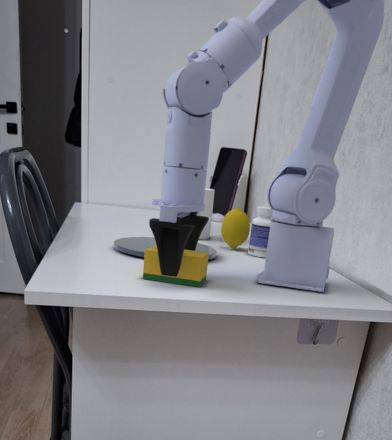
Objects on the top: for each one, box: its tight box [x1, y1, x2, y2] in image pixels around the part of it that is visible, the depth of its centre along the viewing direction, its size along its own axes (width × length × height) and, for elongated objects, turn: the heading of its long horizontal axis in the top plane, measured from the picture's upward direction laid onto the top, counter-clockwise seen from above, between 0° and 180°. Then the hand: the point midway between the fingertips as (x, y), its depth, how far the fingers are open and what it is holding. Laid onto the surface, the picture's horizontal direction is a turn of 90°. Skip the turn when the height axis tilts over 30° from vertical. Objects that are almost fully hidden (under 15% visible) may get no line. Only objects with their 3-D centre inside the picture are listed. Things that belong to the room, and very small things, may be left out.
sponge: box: [142, 245, 209, 288], centre depth 75 cm, size 8×4×4 cm, turn 77°
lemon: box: [220, 207, 251, 250], centre depth 106 cm, size 6×6×8 cm
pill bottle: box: [247, 205, 272, 259], centre depth 102 cm, size 5×5×9 cm
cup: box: [197, 187, 215, 241], centre depth 115 cm, size 8×12×10 cm
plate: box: [113, 236, 218, 261], centre depth 95 cm, size 18×18×1 cm
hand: (176, 270), depth 76 cm, fingers open, 7 cm apart
